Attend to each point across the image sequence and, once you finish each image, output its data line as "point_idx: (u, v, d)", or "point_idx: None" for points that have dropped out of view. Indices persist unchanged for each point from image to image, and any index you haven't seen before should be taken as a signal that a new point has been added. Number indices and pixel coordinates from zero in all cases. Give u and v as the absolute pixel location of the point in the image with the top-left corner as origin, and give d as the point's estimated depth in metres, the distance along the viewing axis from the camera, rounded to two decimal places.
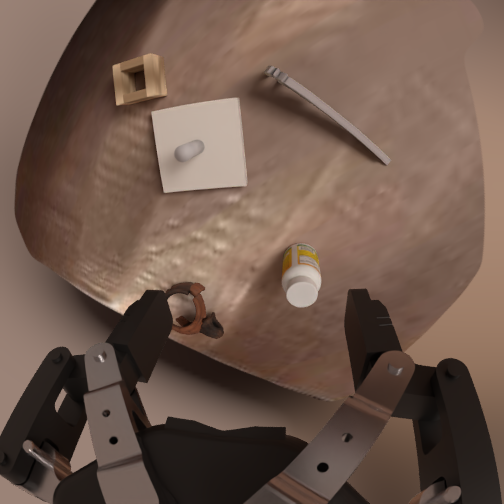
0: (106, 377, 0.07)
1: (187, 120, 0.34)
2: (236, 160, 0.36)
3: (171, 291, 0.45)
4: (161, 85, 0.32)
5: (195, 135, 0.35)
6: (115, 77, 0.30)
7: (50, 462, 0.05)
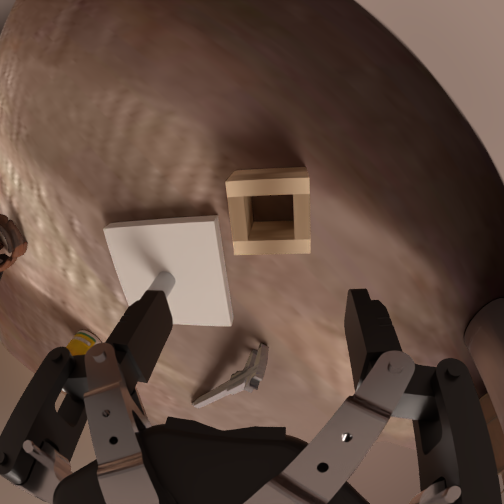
0: (106, 377, 0.07)
1: (199, 271, 0.27)
2: None
3: (4, 232, 0.26)
4: None
5: (180, 279, 0.28)
6: (282, 182, 0.20)
7: (50, 462, 0.05)
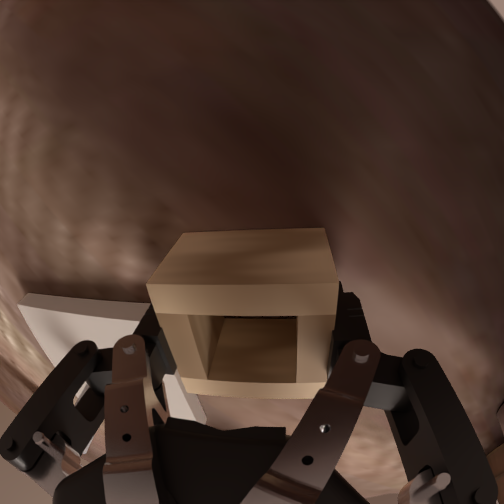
0: (139, 368, 0.08)
1: None
2: None
3: None
4: None
5: None
6: (274, 293, 0.08)
7: (59, 455, 0.05)
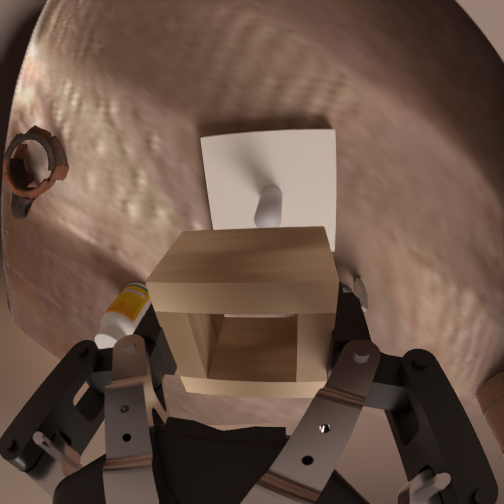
0: (139, 368, 0.08)
1: (312, 184, 0.25)
2: None
3: (47, 145, 0.23)
4: None
5: (288, 194, 0.26)
6: (274, 291, 0.08)
7: (59, 455, 0.05)
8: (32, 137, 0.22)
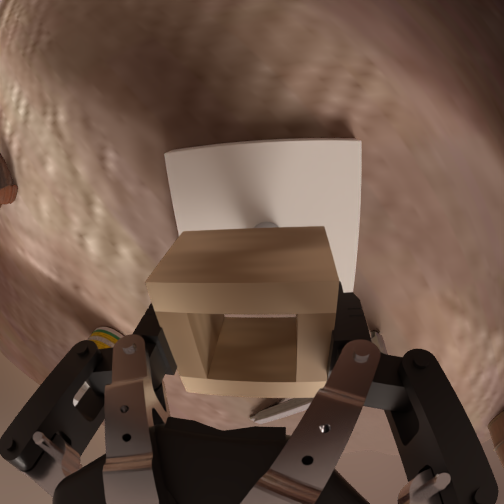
0: (139, 368, 0.08)
1: (326, 221, 0.18)
2: None
3: None
4: None
5: None
6: (274, 291, 0.08)
7: (59, 455, 0.05)
8: None
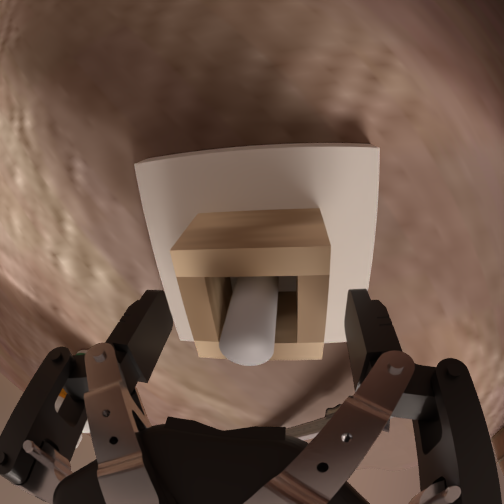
0: (106, 377, 0.07)
1: (333, 247, 0.14)
2: None
3: None
4: None
5: None
6: (278, 255, 0.10)
7: (50, 462, 0.05)
8: None
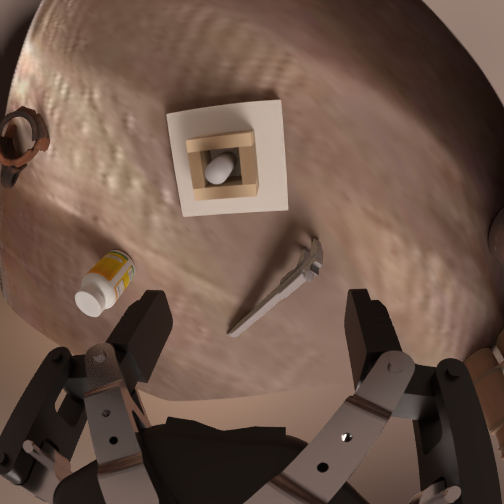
0: (106, 377, 0.07)
1: (263, 148, 0.28)
2: (211, 206, 0.32)
3: (31, 120, 0.25)
4: None
5: None
6: (229, 138, 0.24)
7: (50, 462, 0.05)
8: (19, 114, 0.24)
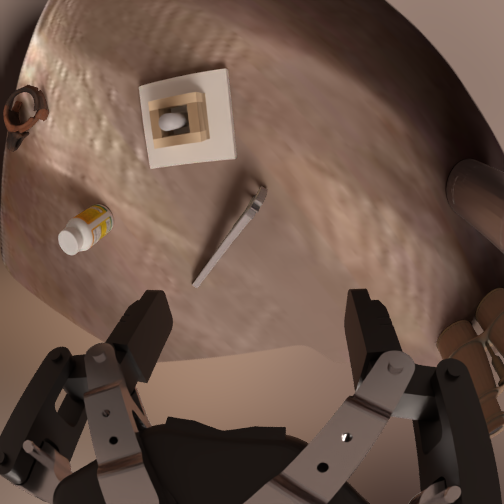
0: (106, 377, 0.07)
1: (212, 108, 0.32)
2: (172, 158, 0.36)
3: (34, 94, 0.29)
4: None
5: None
6: (180, 97, 0.28)
7: (50, 462, 0.05)
8: (25, 90, 0.28)
